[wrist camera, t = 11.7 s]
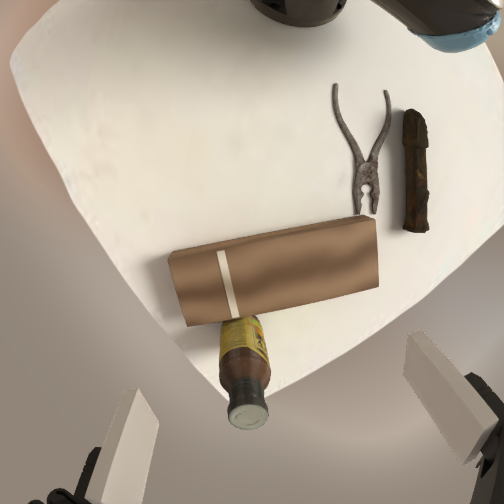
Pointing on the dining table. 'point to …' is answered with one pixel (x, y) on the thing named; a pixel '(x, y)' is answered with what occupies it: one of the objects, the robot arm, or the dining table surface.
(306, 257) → the walnut plank
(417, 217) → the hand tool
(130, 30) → the dining table surface
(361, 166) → the pliers
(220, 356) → the sauce bottle
